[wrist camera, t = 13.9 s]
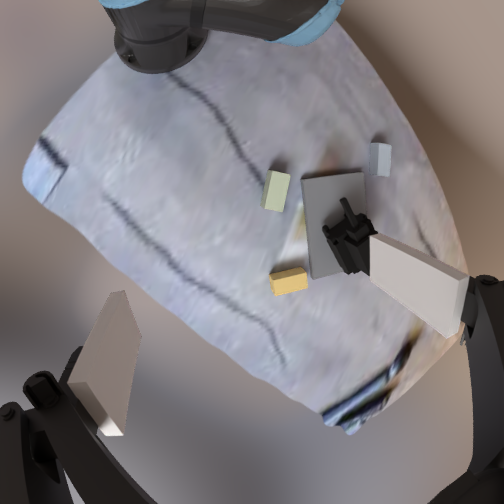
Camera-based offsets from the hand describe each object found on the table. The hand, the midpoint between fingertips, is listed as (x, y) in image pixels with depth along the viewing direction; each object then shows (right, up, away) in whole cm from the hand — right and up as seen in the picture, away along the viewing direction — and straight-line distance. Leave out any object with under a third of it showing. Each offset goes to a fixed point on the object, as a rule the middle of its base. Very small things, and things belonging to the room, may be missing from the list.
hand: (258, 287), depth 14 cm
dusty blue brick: (+23, +19, +34) cm, 45 cm away
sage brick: (+3, +12, +32) cm, 34 cm away
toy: (+15, +6, +35) cm, 39 cm away
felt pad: (+15, +7, +36) cm, 40 cm away
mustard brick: (+6, -3, +37) cm, 38 cm away
